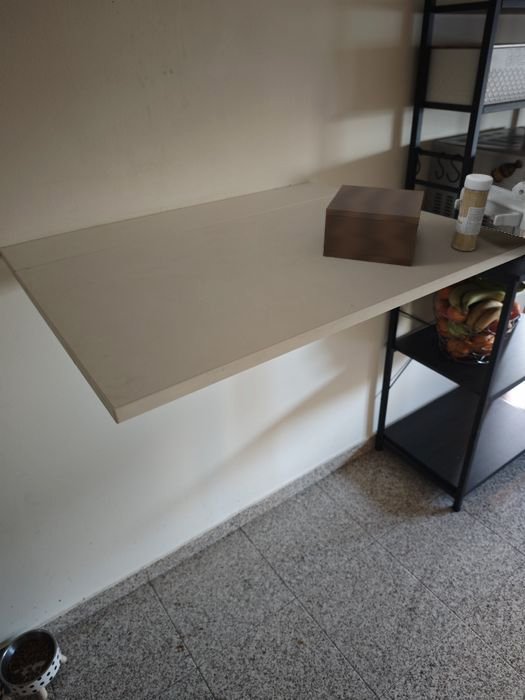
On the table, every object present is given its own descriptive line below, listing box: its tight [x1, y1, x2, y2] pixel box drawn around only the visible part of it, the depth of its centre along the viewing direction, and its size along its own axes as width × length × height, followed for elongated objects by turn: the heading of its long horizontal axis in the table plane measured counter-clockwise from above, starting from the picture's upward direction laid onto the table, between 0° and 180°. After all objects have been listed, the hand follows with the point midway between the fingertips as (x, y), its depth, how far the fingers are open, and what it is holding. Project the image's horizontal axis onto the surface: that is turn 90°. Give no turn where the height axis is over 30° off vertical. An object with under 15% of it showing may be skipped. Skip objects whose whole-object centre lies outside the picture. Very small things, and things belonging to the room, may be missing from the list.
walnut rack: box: [322, 184, 425, 267], centre depth 95 cm, size 16×16×9 cm
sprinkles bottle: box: [451, 173, 494, 252], centre depth 92 cm, size 5×5×13 cm
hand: (474, 212), depth 92 cm, fingers open, 8 cm apart
